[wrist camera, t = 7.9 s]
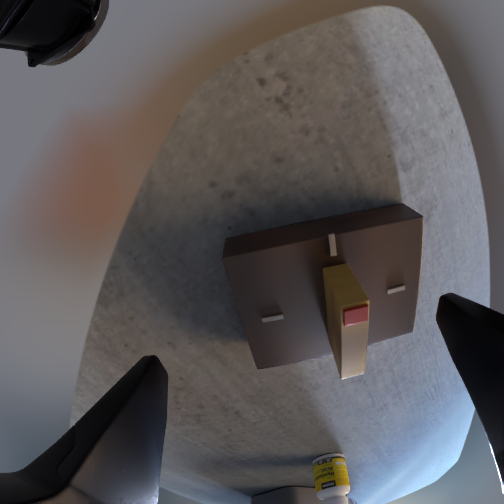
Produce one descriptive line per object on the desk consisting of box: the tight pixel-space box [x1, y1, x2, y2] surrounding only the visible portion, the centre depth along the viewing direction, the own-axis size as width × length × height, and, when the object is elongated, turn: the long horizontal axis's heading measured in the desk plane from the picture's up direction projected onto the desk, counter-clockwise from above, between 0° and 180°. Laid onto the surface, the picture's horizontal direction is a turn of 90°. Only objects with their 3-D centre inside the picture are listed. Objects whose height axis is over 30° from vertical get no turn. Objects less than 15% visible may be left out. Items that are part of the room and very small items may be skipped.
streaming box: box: [251, 487, 323, 504], centre depth 44 cm, size 14×14×5 cm
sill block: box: [222, 203, 423, 369], centre depth 19 cm, size 13×10×3 cm
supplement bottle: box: [313, 453, 350, 504], centre depth 32 cm, size 5×5×10 cm
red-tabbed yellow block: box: [323, 263, 369, 379], centre depth 16 cm, size 6×2×4 cm, turn 12°
